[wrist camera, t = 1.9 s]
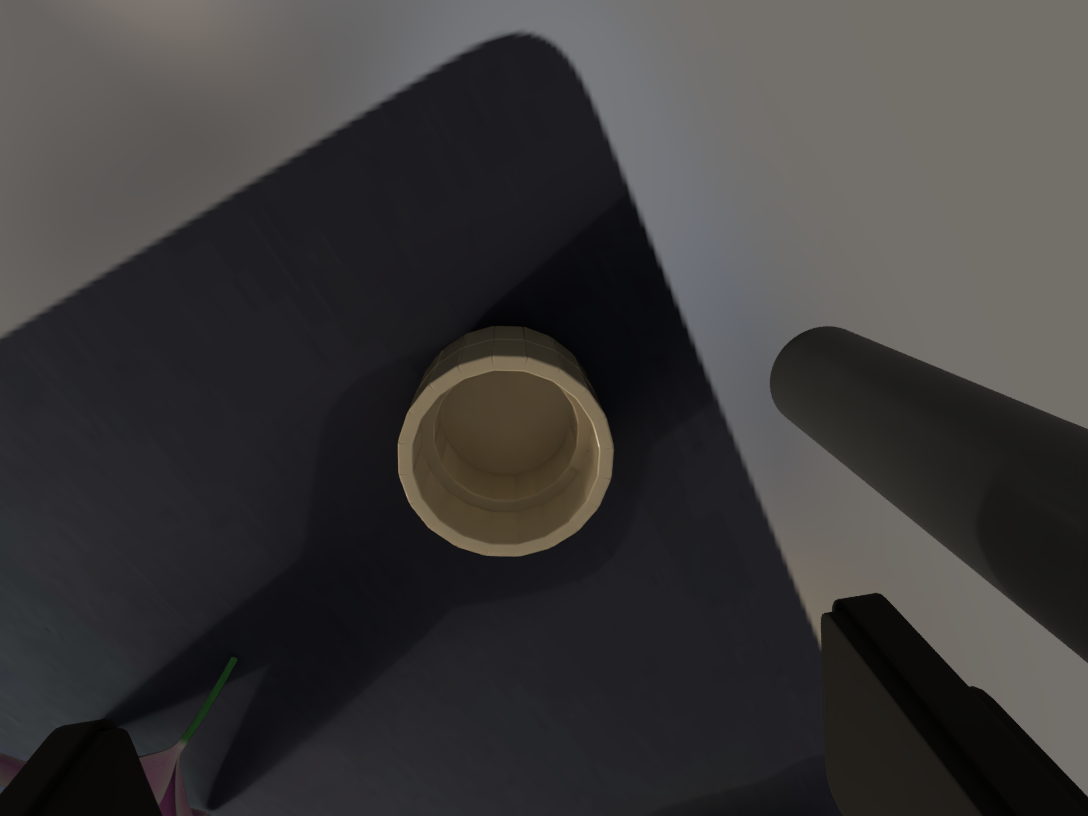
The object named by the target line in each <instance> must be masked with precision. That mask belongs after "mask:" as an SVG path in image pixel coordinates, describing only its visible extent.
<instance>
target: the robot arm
mask: <svg viewBox="0 0 1088 816" xmlns="http://www.w3.org/2000/svg"><path fill="white" fill-rule="evenodd" d="M821 643H822V676H823V709H824V742H825V770H826V776H827V781H828V784H829V788H830V791H831V793H832V796H833V798H834V800H835V802H836V804H837V806H838V808H839V810H840V811H841V813H842V815H843V816H1088V797H1087V796H1086V795H1085V794H1084V793H1083V791H1082V790H1081V789H1079V787H1078V786H1077V785H1076V784H1075V783H1074V782H1073V781H1072V780H1071V779H1070V778H1069V777H1068V776H1067V775H1066V774H1065V773H1064V772H1063V771H1062V770H1061V769H1060V768H1059V767H1058V765H1057V764H1056V763H1055V762H1054V761H1053V760H1052V759H1051V758H1050V757H1049V756H1048V755H1047V754H1046V753H1045V752H1044V751H1043V750H1042V749H1041V748H1040V747H1039V746H1038V745H1037V744H1036V743H1035V742H1034V741H1033V740H1032V738H1031V737H1030V736H1029V735H1028V734H1026V732H1025V731H1024V730H1023V729H1022V728H1021V727H1020V726H1019V725H1018V724H1017V723H1016V722H1015V721H1014V720H1013V719H1012V718H1011V717H1010V716H1009V715H1008V714H1007V712H1006V711H1005V710H1004V709H1003V708H1002V707H1001V706H1000V705H999V704H998V703H997V702H996V701H995V700H994V699H993V698H992V697H991V696H989V695H988V694H987V693H986V692H985V691H983V690H982V689H979V688H976V687H974V686H971V687H969V686H968V685H967V684H966V683H965V682H964V681H963V680H962V679H961V678H960V677H959V676H958V675H957V674H956V672H954V670H953V669H952V668H951V667H950V666H949V665H948V664H947V663H946V662H945V661H944V660H943V659H942V658H941V657H940V655H939V654H938V653H937V652H936V651H935V650H934V649H933V648H932V647H931V646H930V645H929V644H928V643H927V641H926V640H925V639H924V638H923V637H922V636H921V635H920V634H919V633H918V632H917V631H916V630H915V629H914V628H913V627H912V625H911V624H910V623H909V622H908V621H907V620H906V619H905V618H904V617H903V616H902V615H901V614H900V613H899V612H898V611H897V609H896V608H895V607H894V606H893V605H892V604H891V603H890V602H889V601H888V600H887V599H886V598H885V597H884V596H883V595H881V594H878V593H873V594H867V595H861V596H855V597H849V598H844V599H837V600H836V601H834V603H833V606H832V612H828V613H824V614H822V617H821ZM0 816H163V815H162V813H161V811H160V808H159V806H158V803H157V801H156V798H155V796H154V794H153V791H152V789H151V786H150V784H149V781H148V779H147V777H146V774H145V772H144V769H143V767H142V764H141V762H140V760H139V757H138V755H137V752H136V750H135V747H134V745H133V743H132V740H131V738H130V736H129V734H128V732H127V731H126V730H124V729H121V728H117V726H116V725H115V723H113V722H112V721H111V720H107V719H101V720H95V721H89V722H82V723H76V724H70V725H64V726H61V727H59V728H56V729H55V730H54V731H53V732H52V733H51V734H50V735H49V736H48V737H47V738H46V740H45V741H44V742H43V743H42V744H41V746H40V747H39V748H38V749H37V750H36V752H35V753H34V754H33V755H32V756H31V758H30V759H29V760H28V761H27V763H26V764H25V765H24V766H23V767H22V769H21V770H20V771H19V772H18V773H17V775H16V776H15V777H14V778H13V779H12V781H11V782H10V783H9V784H8V786H7V787H6V788H5V789H4V790H3V792H2V793H1V794H0Z"/></svg>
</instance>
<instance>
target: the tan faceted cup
mask: <svg viewBox="0 0 1088 816" xmlns="http://www.w3.org/2000/svg"><path fill="white" fill-rule="evenodd" d="M398 441H399V442H398V472H399V477H400V480H401V482H402V485H403V488H404V490H405V493H406V496H407V499H408V501H409V503H410V505H411V506H412V508H413V509H414V510H415V511H416V513H417V514H418V515H419V516H420V518H421V519H422V520H423V521H424V523H425V524H426V525H427V526H428V528H430V529H431V530H432V531H434V532H435V533H437V534H438V535H440V536H441V537H443V538H444V539H446V540H447V541H449V542H450V543H452V544H453V545H455V546H456V545H457V547H459V548H463V549H466V550H469V551H472V552H476V553H479V554H482V555H486V556H487V555H488V556H519V555H520V556H523V555H527V554H531V553H534V552H538V551H542V550H545V549H549V548H551V547H553V546H555V545H556V544H558V543H560V542H561V541H563V540H564V539H566V538H568V537H569V536H571V535H573V534H574V533H576V532H577V531H578V530H580V528H581V527H582V526H583V525H584V524H585V523H586V522H587V520H588V519H589V518H590V517H591V516H592V515H593V514H594V512H595V511H596V510H597V509H598V507H599V506H600V504H601V502H602V500H603V497H604V495H605V493H606V490H607V488H608V486H609V483H610V481H611V477H612V468H613V456H614V444H613V440H612V436H611V433H610V429H609V425H608V421H607V417H606V415H605V413H604V411H603V408H602V406H601V404H600V402H599V399H598V397H597V395H596V393H595V391H594V388H593V386H592V384H591V382H590V379H589V377H588V375H587V374H586V372H585V371H584V369H583V368H582V366H581V365H580V363H579V362H578V360H577V359H576V357H575V356H574V355H573V354H572V353H571V352H570V351H569V350H568V349H566V348H565V347H564V346H562V345H561V344H560V343H559V342H557V341H556V340H555V339H553V338H552V337H550V336H548V335H545V334H543V333H540V332H537V331H534V330H532V329H529V328H526V327H524V328H523V327H515V326H495V327H494V326H491V327H488V328H484V329H481V330H477V331H474V332H470V333H467V335H466V334H465V335H463V336H462V337H460V338H459V339H457V340H456V341H454V342H453V343H451V344H450V345H448V346H447V347H445V348H444V349H443V351H441V352H440V353H439V355H438V356H437V357H436V358H435V360H434V361H433V362H432V364H431V365H430V366H429V368H428V369H427V370H426V372H425V374H424V376H423V378H422V380H421V383H420V385H419V387H418V390H417V392H416V394H415V396H414V399H413V401H412V403H411V406H410V408H409V410H408V413H407V416H406V419H405V422H404V425H403V427H402V430H401V433H400V436H399V439H398Z"/></svg>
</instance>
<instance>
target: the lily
mask: <svg viewBox="0 0 1088 816" xmlns="http://www.w3.org/2000/svg"><path fill="white" fill-rule="evenodd" d="M237 660H238V659H237V658H235V657H231V659H230V661H229V662H228V664H227V666H226V668H225V669H224V671H223V673H222V675H221V676H220V678H219V680H218V682H217V683H216V685H215V687H214V688H213V690H212V692H211V693H210V695H209V697H208V699H207V700H206V702H205V704H204V705H203V707H202V708H201V710H200V712H199V713H198V715H197V716H196V718H195V719H194V721H193V722H192V724H191V725H190V727H189V728H188V730H187V731H186V732H185V734H184V735H183V736H182V737H181V739H180V740H179V741H178V743H177V744H176V745H174V746H173V747H172V748H170V749H168V750H165V751H161V752H158V753H153V754H148V755H144V756H139V760H140V762H141V764H142V767H143V769H144V772H145V774H146V777H147V779H148V781H149V784H150V786H151V789H152V791H153V794H154V796H155V798H156V801H157V803H158V806H159V808H160V811H161V813H162V815H163V816H211V815H210V814H209V813H207V812H204V811H202V810H198V809H193V808H190V806H189V803H188V801H187V797H186V793H185V790H184V786H183V781H182V776H181V772H180V765H179V758H180V754H181V752H182V750H183V749H184V747H185V746H186V744H187V743H188V741H189V740H190V738H191V737H192V735H193V734H194V732H195V731H196V729H197V728H198V726H199V725H200V723H201V722H202V720H203V718H204V717H205V715H206V714H207V712H208V711H209V709H210V707H211V706H212V704H213V702H214V700H215V699H216V697H217V695H218V694H219V692H220V690H221V688H222V687H223V685H224V683H225V681H226V680H227V678H228V676H229V674H230V673H231V671H232V669H233V667H234V665H235V664H236V662H237ZM177 758H178V759H177ZM26 763H27V762H26V761H23V760H20V759H17V758H14V757H11V756H8V755H6V754H3V753H0V785H2V786H4V787H5V788H6V787H7V786H8V784H9V783H10V782H11V781H12V779H13V778H14V777H15V776H16V775H17V773H18V772H19V771H20V770H21V769H22V767H23V766H24V765H25V764H26Z"/></svg>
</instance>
